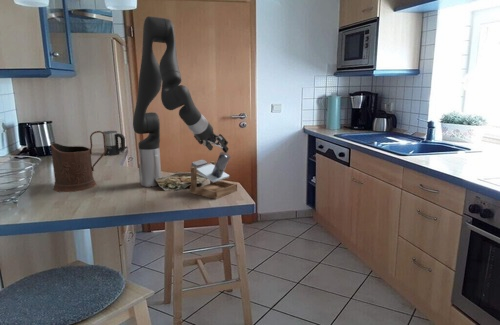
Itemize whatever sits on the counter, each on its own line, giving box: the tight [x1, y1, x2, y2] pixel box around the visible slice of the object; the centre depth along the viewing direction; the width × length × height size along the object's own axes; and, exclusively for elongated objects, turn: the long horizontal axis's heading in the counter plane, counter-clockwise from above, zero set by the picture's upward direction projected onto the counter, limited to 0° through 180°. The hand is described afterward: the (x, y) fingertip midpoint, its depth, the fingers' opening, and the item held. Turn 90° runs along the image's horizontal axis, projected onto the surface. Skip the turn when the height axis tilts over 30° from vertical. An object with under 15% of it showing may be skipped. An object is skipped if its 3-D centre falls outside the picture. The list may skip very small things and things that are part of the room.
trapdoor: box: [190, 159, 230, 183], centre depth 164 cm, size 15×10×2 cm
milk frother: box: [102, 130, 128, 156], centre depth 245 cm, size 14×16×15 cm
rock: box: [155, 171, 209, 192], centre depth 173 cm, size 23×7×15 cm
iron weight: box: [212, 151, 231, 178], centre depth 159 cm, size 4×4×10 cm
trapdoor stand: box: [189, 160, 238, 200], centre depth 163 cm, size 15×14×12 cm
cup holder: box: [50, 130, 106, 193], centre depth 172 cm, size 18×24×25 cm
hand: (219, 150), depth 160 cm, fingers open, 8 cm apart
